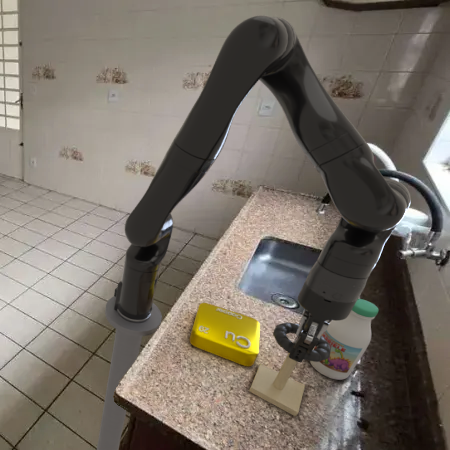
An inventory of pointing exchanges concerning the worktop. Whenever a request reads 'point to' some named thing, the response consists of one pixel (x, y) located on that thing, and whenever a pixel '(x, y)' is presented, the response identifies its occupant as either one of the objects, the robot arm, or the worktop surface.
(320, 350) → the ring
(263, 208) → the worktop surface
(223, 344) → the element tile
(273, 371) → the stand
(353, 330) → the milk bottle
